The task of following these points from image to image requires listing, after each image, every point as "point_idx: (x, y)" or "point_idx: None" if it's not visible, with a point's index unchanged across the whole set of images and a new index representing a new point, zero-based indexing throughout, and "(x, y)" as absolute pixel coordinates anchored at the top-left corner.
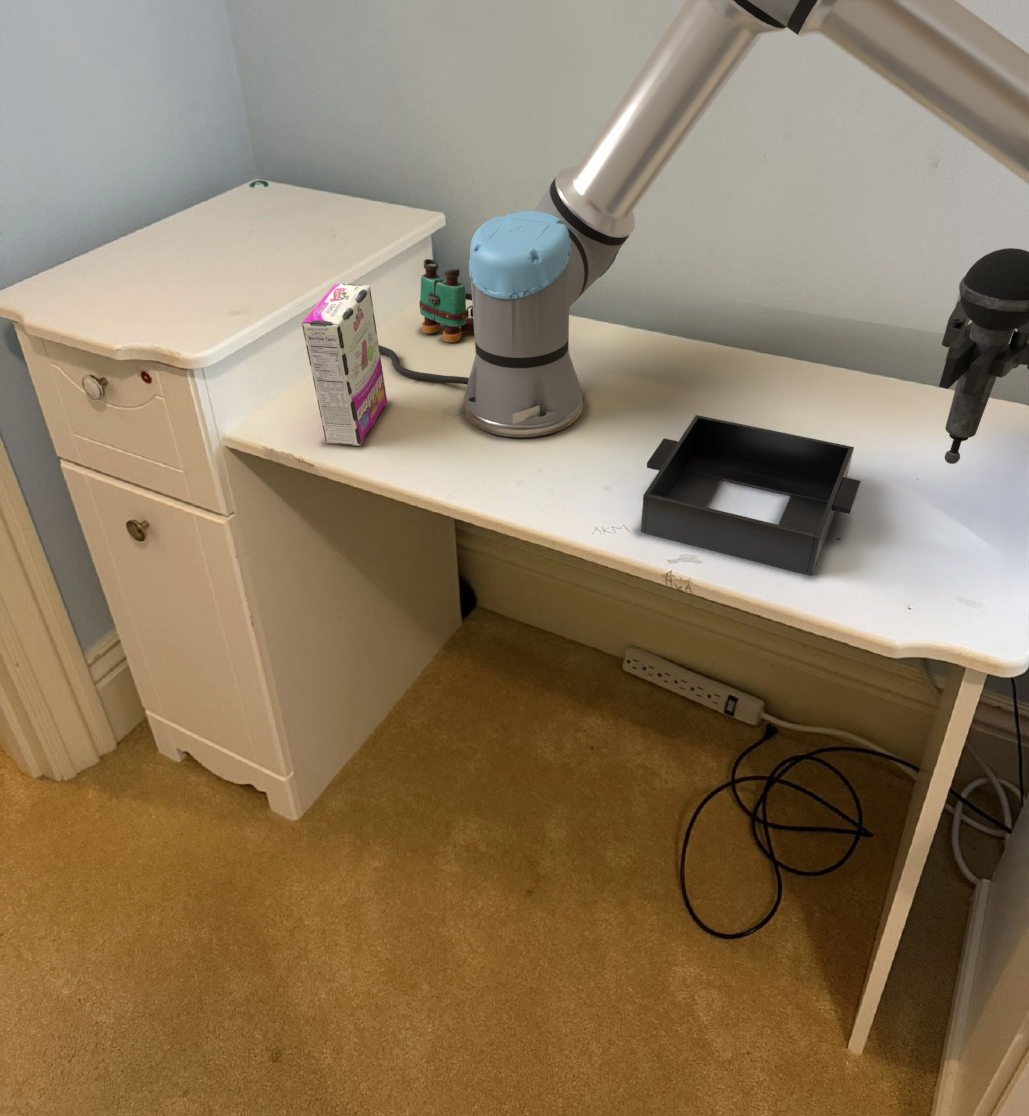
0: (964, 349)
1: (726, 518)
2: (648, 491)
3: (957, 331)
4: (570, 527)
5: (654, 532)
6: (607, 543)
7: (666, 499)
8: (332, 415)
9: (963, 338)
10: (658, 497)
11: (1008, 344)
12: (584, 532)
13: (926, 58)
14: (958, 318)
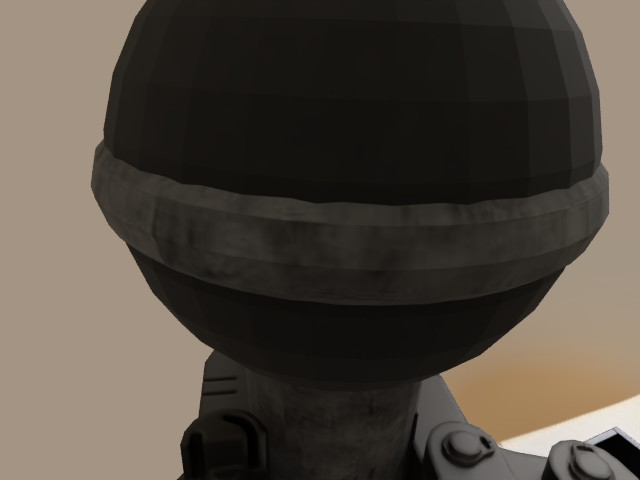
0: None
1: None
2: (624, 435)
3: (513, 456)
4: (628, 423)
5: None
6: (582, 431)
7: (595, 438)
8: None
9: (431, 399)
10: (604, 434)
11: (249, 405)
12: (613, 427)
13: None
14: (584, 467)
